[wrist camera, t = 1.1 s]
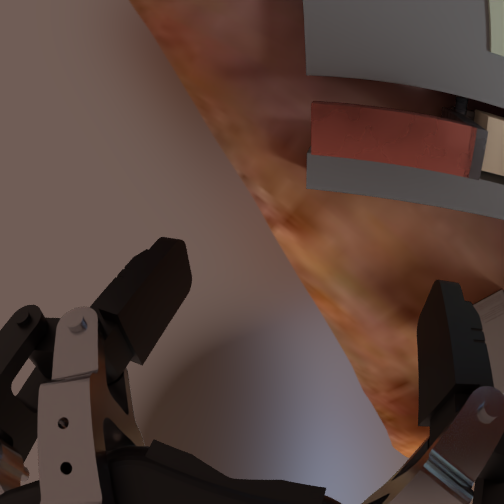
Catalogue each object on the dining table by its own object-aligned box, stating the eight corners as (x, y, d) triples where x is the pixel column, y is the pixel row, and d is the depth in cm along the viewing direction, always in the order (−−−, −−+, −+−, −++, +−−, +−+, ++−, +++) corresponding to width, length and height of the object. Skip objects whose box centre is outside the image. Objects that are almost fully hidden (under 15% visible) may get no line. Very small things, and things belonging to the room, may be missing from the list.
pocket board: (575, 11, 7) (598, 11, 4) (551, 216, 20) (568, 237, 17) (304, -62, 15) (294, -79, 12) (313, 172, 27) (305, 190, 24)
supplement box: (450, 314, 31) (461, 408, 21) (503, 287, 26) (531, 379, 17) (467, 346, 33) (476, 431, 23) (514, 323, 28) (534, 408, 18)
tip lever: (559, 129, 15) (607, 160, 9) (547, 184, 18) (587, 228, 12) (324, 76, 22) (310, 83, 16) (324, 140, 25) (310, 173, 19)
